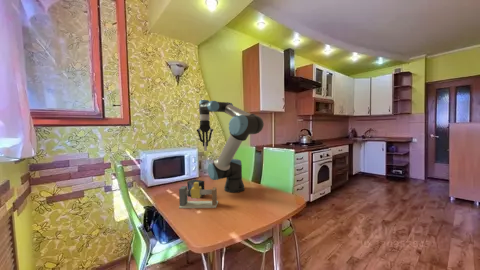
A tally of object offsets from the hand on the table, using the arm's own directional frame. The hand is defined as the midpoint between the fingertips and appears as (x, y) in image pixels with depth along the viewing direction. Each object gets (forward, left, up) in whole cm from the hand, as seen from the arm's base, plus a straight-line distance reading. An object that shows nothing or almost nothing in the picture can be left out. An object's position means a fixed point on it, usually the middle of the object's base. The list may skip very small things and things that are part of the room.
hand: (205, 150), depth 158 cm
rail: (-2, +35, -29) cm, 46 cm away
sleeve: (-1, +35, -24) cm, 43 cm away
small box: (+4, +18, -30) cm, 35 cm away
